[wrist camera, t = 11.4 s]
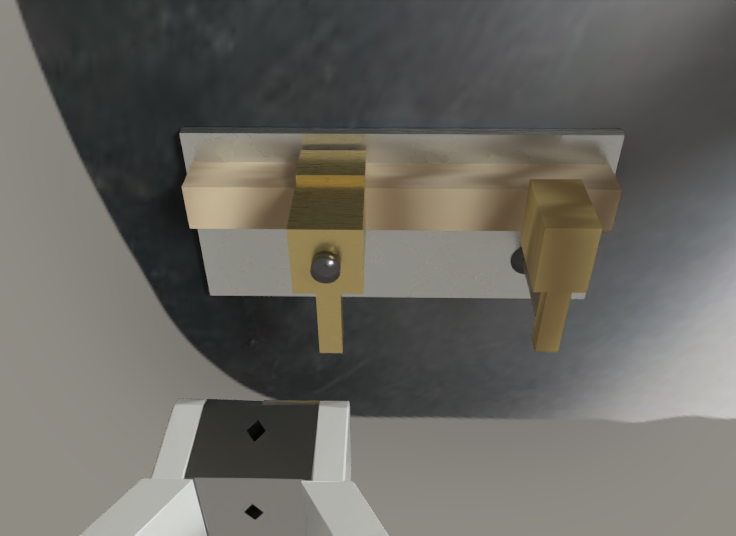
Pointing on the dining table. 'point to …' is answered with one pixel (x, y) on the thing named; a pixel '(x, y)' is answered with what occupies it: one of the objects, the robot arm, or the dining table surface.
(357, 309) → the dining table surface
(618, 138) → the flange plate
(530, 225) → the trammel beam
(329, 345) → the sliding leg
